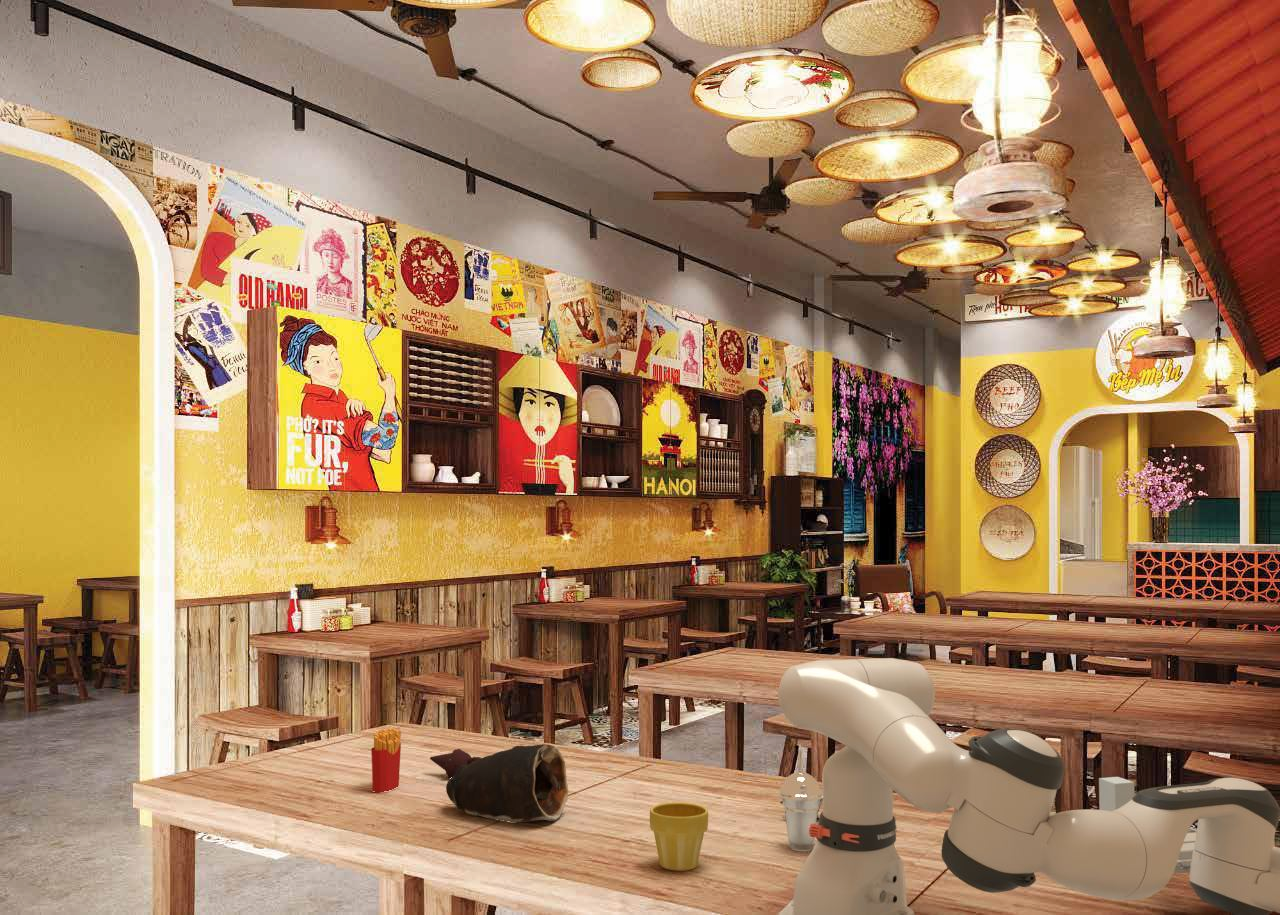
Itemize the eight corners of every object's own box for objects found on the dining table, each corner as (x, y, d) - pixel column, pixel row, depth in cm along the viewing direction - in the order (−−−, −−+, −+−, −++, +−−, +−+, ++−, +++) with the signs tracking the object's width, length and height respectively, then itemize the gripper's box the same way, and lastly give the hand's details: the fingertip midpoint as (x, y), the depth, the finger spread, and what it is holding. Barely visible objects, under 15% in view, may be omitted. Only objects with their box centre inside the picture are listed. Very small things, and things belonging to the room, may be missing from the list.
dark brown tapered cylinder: (458, 744, 232) (560, 732, 223) (473, 813, 232) (576, 803, 223) (421, 768, 218) (528, 756, 209) (438, 842, 218) (545, 832, 209)
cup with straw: (833, 847, 199) (832, 739, 200) (806, 858, 192) (806, 747, 193) (794, 838, 205) (794, 732, 206) (767, 848, 198) (767, 740, 199)
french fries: (382, 794, 235) (383, 735, 236) (366, 792, 236) (367, 733, 237) (405, 784, 244) (406, 727, 244) (389, 783, 245) (390, 725, 246)
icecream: (419, 751, 249) (473, 763, 243) (438, 737, 256) (491, 749, 250) (421, 778, 251) (475, 791, 245) (440, 764, 257) (492, 776, 251)
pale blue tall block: (1136, 875, 184) (1134, 782, 185) (1116, 878, 183) (1115, 783, 184) (1119, 868, 188) (1117, 776, 189) (1100, 870, 187) (1098, 778, 188)
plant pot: (673, 851, 196) (673, 798, 197) (719, 864, 190) (719, 808, 190) (637, 866, 188) (638, 809, 189) (684, 879, 182) (684, 820, 182)
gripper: (1175, 889, 160) (1110, 860, 173) (1283, 876, 166) (1212, 849, 179) (1174, 846, 160) (1110, 820, 173) (1282, 835, 166) (1211, 811, 179)
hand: (1162, 835), depth 176 cm, fingers open, 8 cm apart
